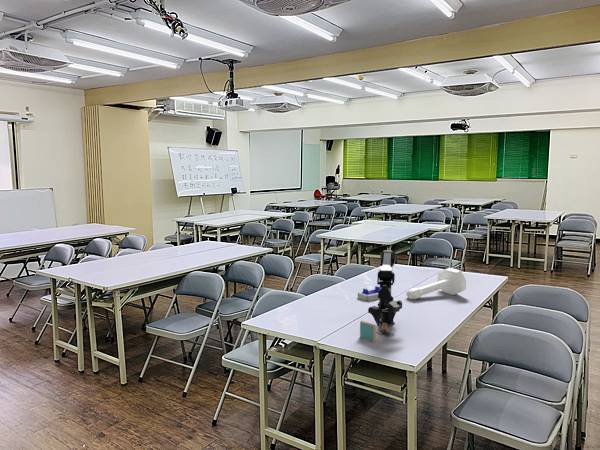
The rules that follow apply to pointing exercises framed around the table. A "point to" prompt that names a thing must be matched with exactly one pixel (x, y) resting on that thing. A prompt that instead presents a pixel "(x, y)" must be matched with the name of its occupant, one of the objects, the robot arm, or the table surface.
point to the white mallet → (442, 284)
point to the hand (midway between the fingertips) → (384, 324)
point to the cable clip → (365, 291)
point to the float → (384, 330)
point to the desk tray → (368, 297)
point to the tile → (368, 331)
